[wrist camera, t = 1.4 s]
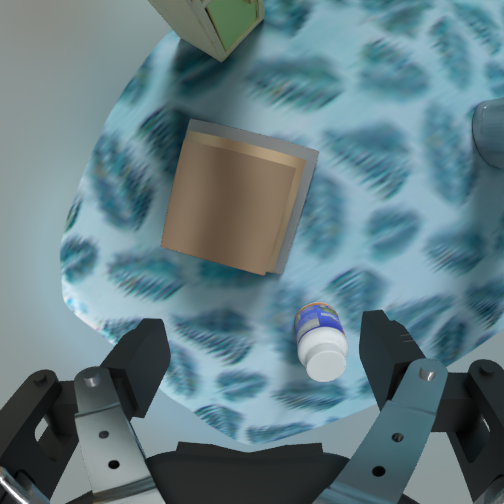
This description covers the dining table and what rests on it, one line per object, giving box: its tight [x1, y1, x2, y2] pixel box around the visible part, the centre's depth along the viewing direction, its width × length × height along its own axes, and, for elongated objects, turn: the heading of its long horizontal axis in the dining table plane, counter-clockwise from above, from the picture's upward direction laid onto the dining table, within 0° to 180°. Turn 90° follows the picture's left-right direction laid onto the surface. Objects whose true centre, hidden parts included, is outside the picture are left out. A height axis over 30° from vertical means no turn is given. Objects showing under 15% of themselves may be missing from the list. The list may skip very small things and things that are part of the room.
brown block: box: [161, 130, 306, 276], centre depth 28 cm, size 11×11×8 cm
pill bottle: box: [295, 302, 348, 382], centre depth 32 cm, size 5×5×10 cm
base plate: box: [184, 119, 319, 275], centre depth 32 cm, size 14×14×1 cm
